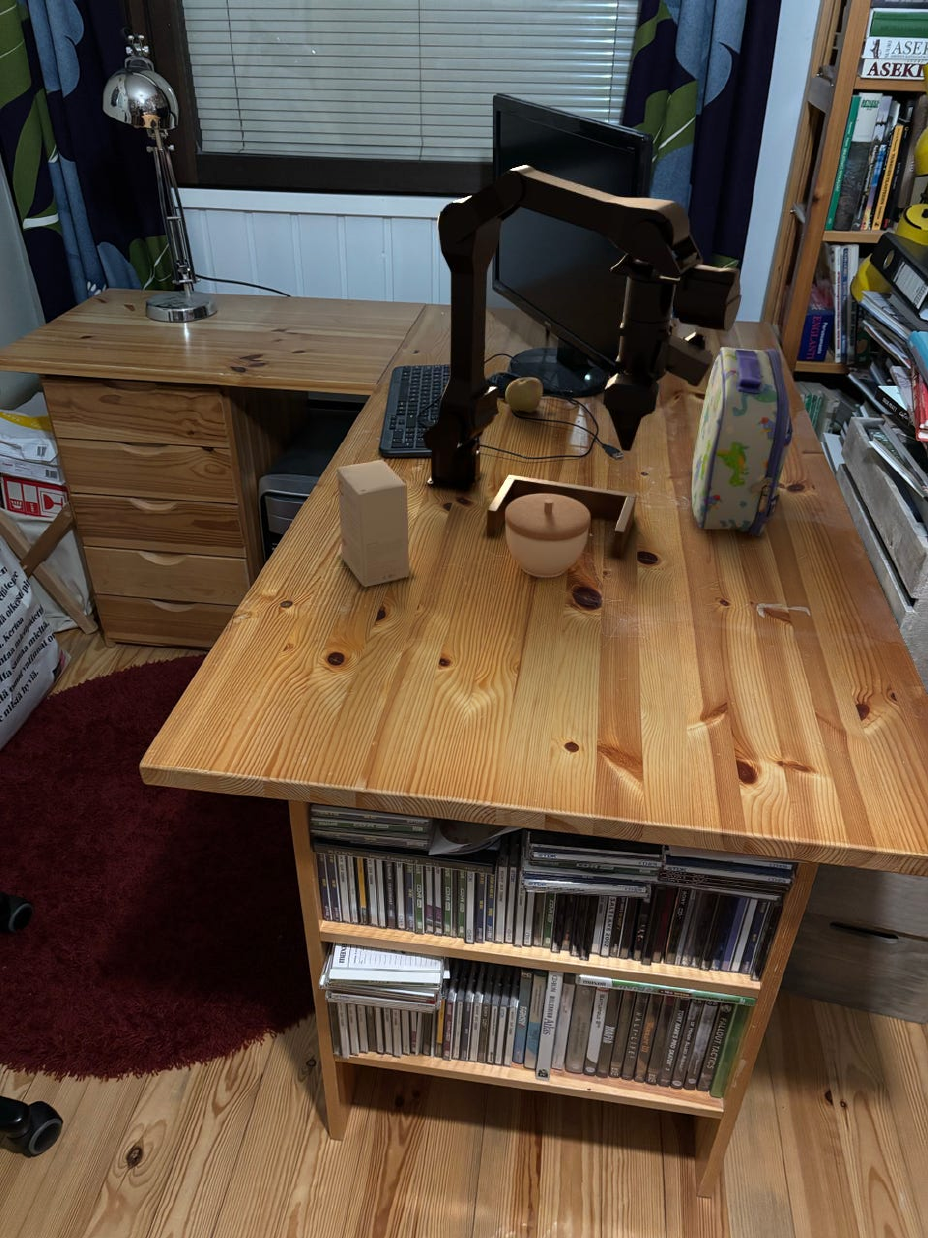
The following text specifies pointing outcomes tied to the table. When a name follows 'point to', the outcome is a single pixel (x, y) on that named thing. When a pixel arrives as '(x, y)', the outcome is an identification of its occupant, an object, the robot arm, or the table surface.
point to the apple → (524, 394)
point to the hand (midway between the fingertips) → (631, 435)
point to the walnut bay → (593, 499)
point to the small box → (373, 522)
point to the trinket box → (546, 533)
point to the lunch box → (741, 442)
